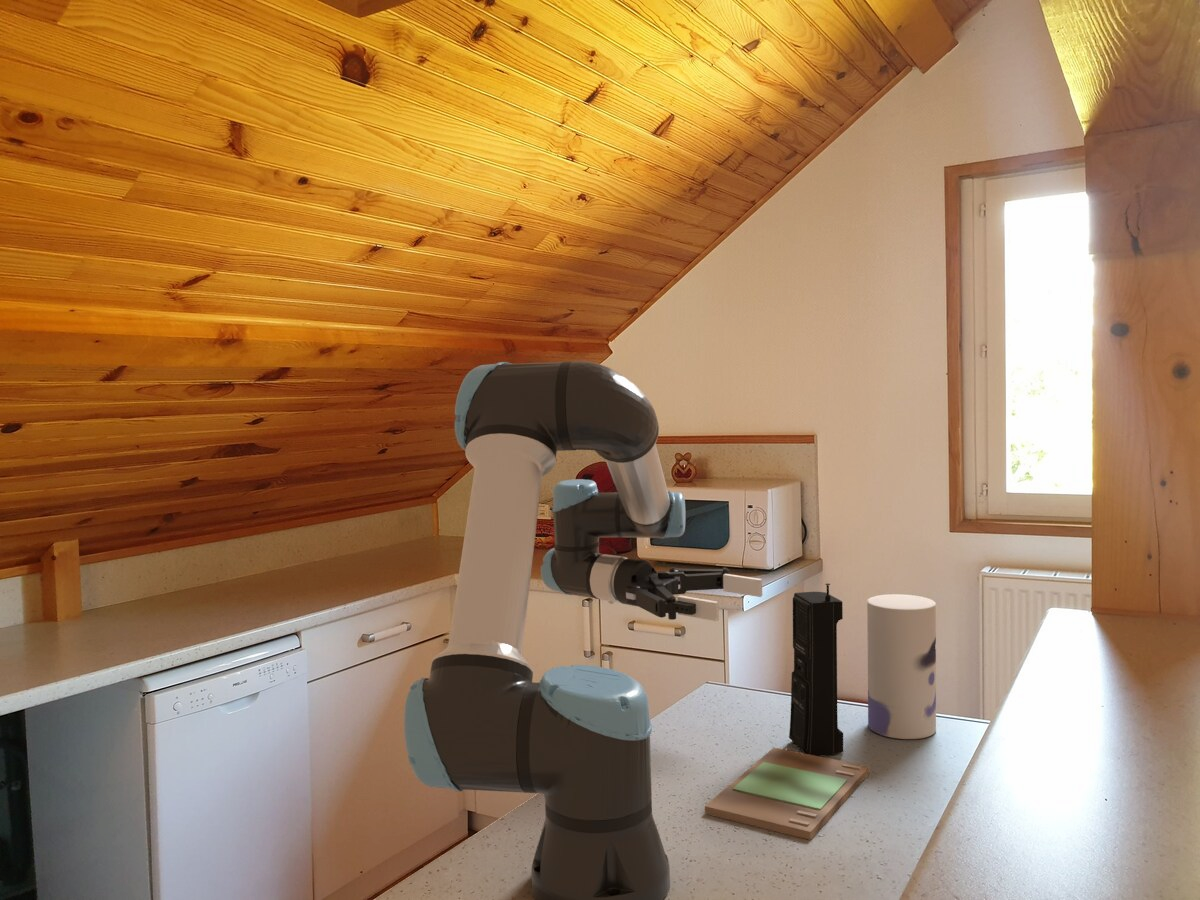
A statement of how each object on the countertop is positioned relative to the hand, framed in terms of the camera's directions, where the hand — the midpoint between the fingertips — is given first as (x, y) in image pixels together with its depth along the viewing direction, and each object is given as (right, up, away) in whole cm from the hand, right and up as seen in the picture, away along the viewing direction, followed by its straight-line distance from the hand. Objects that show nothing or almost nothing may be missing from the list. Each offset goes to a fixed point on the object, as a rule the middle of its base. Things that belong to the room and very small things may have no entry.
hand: (740, 599), depth 146 cm
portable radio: (+11, -22, -2) cm, 24 cm away
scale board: (+4, -23, -18) cm, 29 cm away
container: (+25, -21, +4) cm, 33 cm away
